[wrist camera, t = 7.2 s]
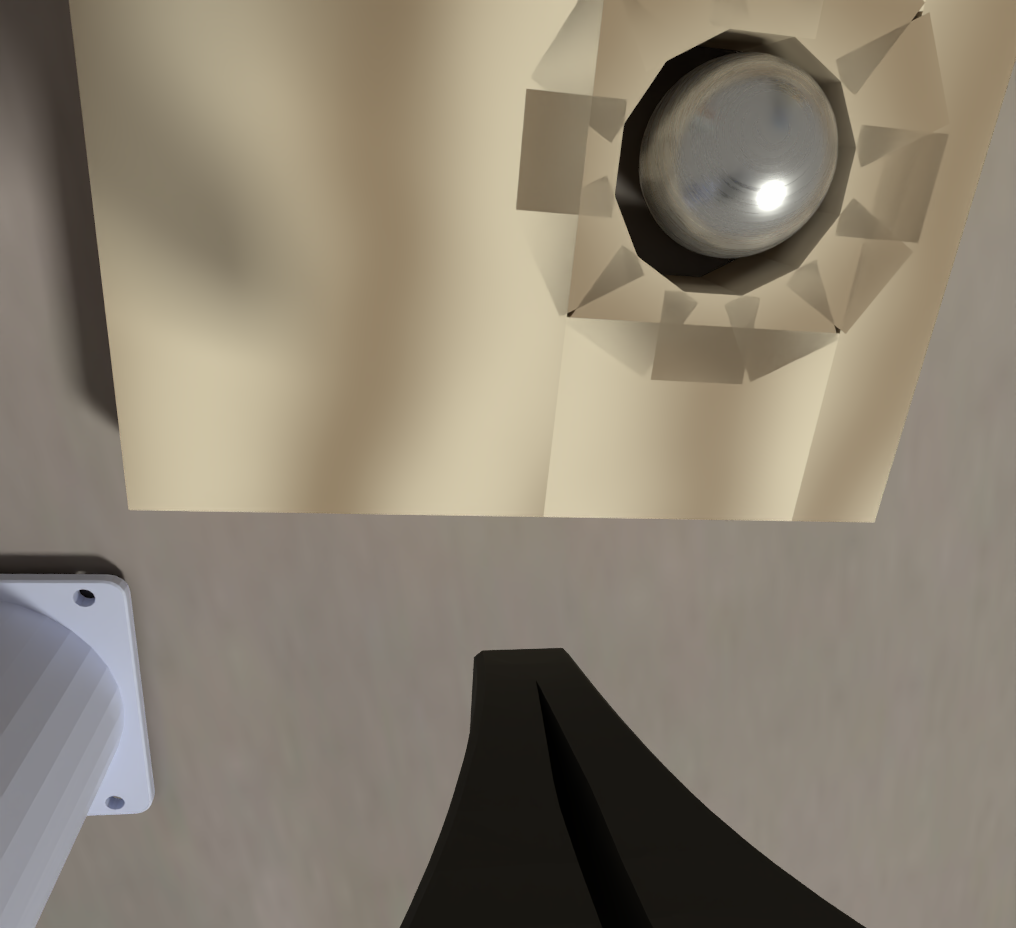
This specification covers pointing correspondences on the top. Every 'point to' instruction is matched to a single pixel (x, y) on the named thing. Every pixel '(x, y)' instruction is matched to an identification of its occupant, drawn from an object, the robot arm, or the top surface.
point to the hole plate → (509, 256)
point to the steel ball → (738, 155)
